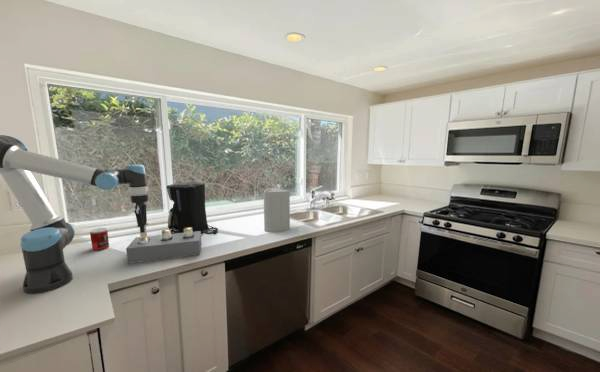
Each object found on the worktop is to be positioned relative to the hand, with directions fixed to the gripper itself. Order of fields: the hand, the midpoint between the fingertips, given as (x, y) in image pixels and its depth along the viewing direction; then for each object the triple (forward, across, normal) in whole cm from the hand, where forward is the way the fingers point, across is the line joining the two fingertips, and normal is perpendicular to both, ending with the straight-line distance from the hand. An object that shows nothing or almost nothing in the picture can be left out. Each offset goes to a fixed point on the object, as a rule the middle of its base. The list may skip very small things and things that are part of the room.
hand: (144, 237), depth 134 cm
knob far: (+5, 0, -22) cm, 22 cm away
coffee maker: (+11, +31, -20) cm, 38 cm away
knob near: (+8, 0, 0) cm, 8 cm away
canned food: (+10, +19, +27) cm, 35 cm away
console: (+10, 0, -11) cm, 15 cm away
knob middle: (+5, 0, -11) cm, 12 cm away
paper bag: (+11, +20, -75) cm, 79 cm away
